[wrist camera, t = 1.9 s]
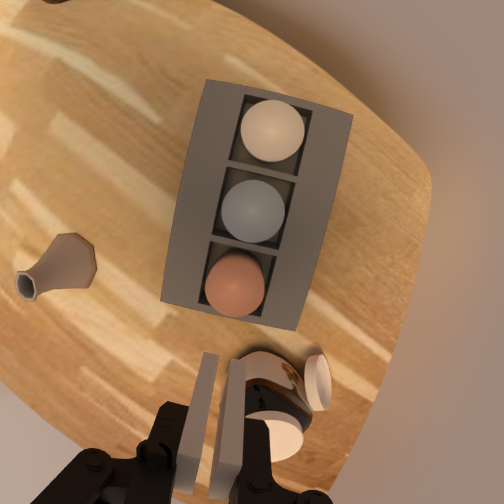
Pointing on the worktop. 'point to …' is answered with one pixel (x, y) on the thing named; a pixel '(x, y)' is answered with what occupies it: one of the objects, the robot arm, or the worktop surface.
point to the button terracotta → (235, 284)
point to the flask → (58, 268)
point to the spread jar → (284, 397)
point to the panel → (248, 168)
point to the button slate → (253, 211)
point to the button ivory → (272, 131)
